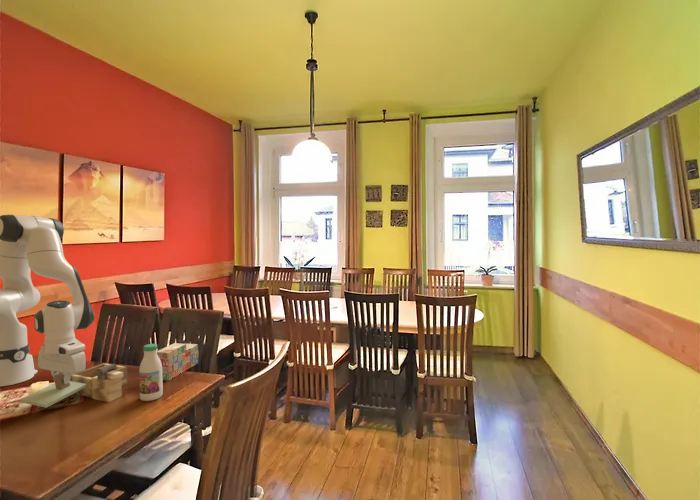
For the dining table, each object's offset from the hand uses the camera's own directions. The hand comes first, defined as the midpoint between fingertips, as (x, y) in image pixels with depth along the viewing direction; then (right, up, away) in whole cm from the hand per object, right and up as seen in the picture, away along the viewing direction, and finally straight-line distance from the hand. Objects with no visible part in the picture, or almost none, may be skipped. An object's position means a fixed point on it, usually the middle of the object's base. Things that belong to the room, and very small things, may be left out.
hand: (62, 382), depth 135 cm
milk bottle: (+31, -7, +4) cm, 32 cm away
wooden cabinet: (+10, -7, +10) cm, 16 cm away
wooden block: (+16, +1, +2) cm, 17 cm away
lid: (-1, -3, -2) cm, 4 cm away
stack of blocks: (+29, -6, +30) cm, 42 cm away
